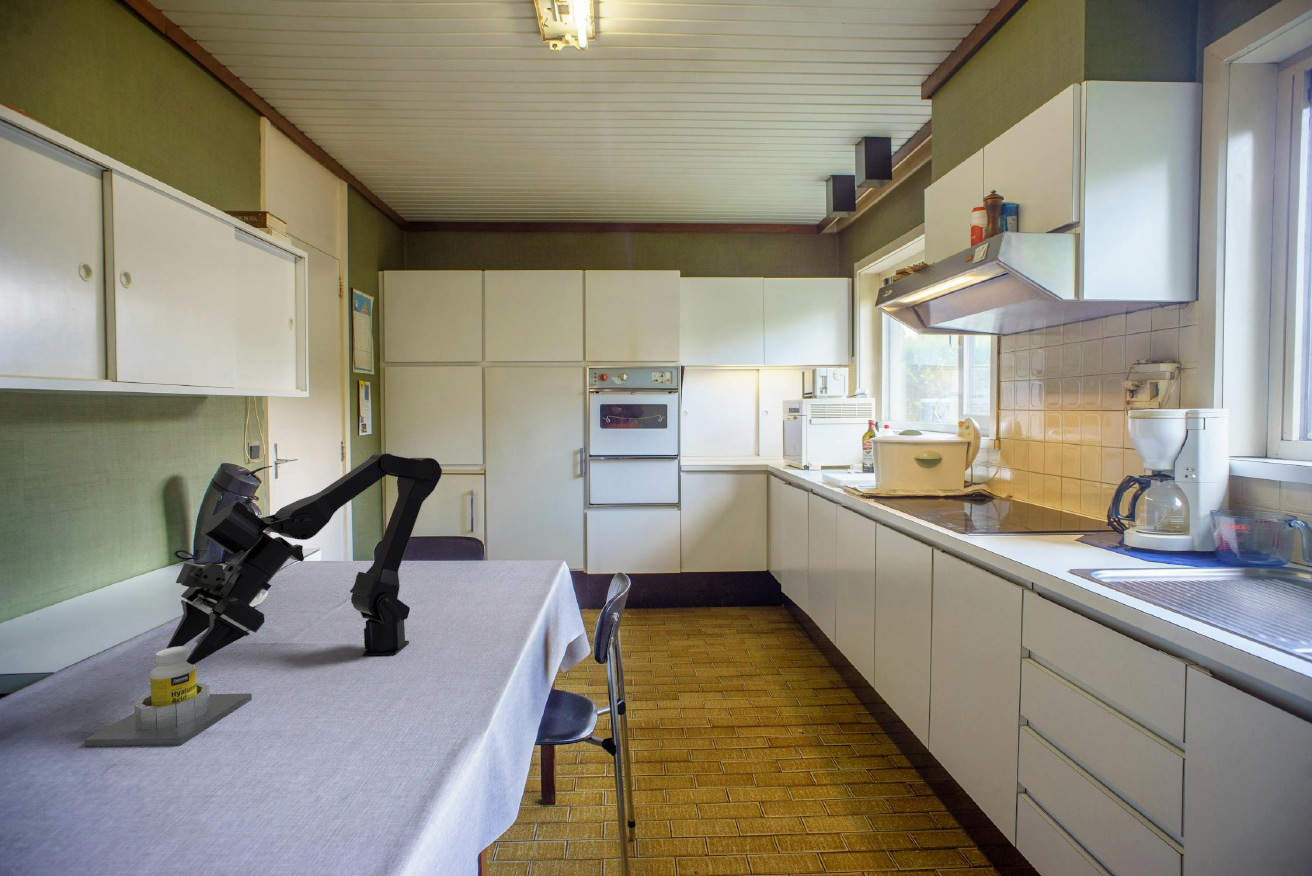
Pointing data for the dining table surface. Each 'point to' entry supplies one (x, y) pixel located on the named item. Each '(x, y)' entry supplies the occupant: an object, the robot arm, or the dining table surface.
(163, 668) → the supplement bottle
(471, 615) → the dining table surface
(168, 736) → the duct collar
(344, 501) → the robot arm
